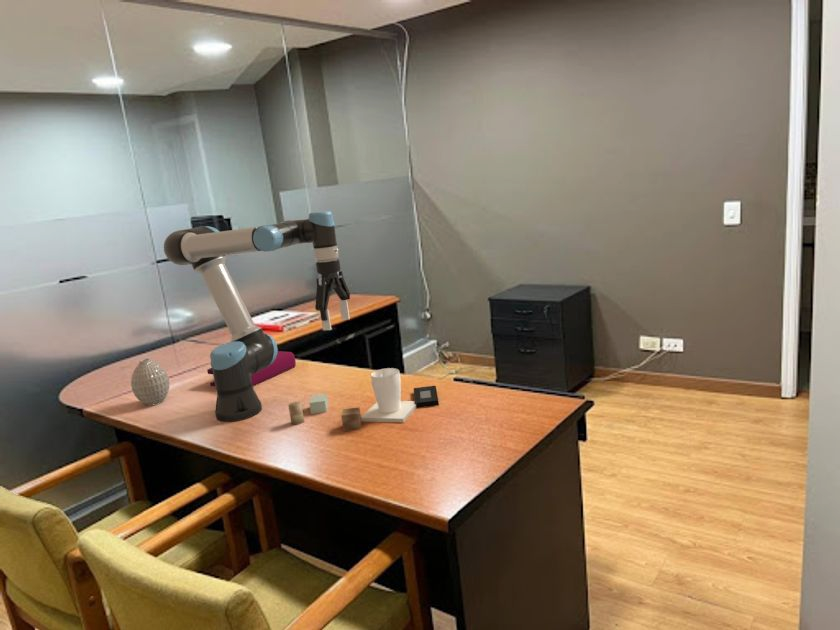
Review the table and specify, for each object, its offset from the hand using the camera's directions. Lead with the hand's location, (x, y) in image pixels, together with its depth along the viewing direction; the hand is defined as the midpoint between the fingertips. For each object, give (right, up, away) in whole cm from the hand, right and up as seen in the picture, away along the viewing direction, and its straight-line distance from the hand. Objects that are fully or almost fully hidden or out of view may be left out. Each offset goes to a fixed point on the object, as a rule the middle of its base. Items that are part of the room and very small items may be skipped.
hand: (336, 324), depth 203 cm
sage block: (-6, -28, +2) cm, 29 cm away
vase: (-72, -30, +29) cm, 83 cm away
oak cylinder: (-11, -31, -8) cm, 33 cm away
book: (-40, -22, +47) cm, 66 cm away
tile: (+18, -27, -9) cm, 34 cm away
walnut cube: (+7, -31, -16) cm, 35 cm away
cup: (+18, -27, -9) cm, 33 cm away
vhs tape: (+29, -25, 0) cm, 38 cm away
